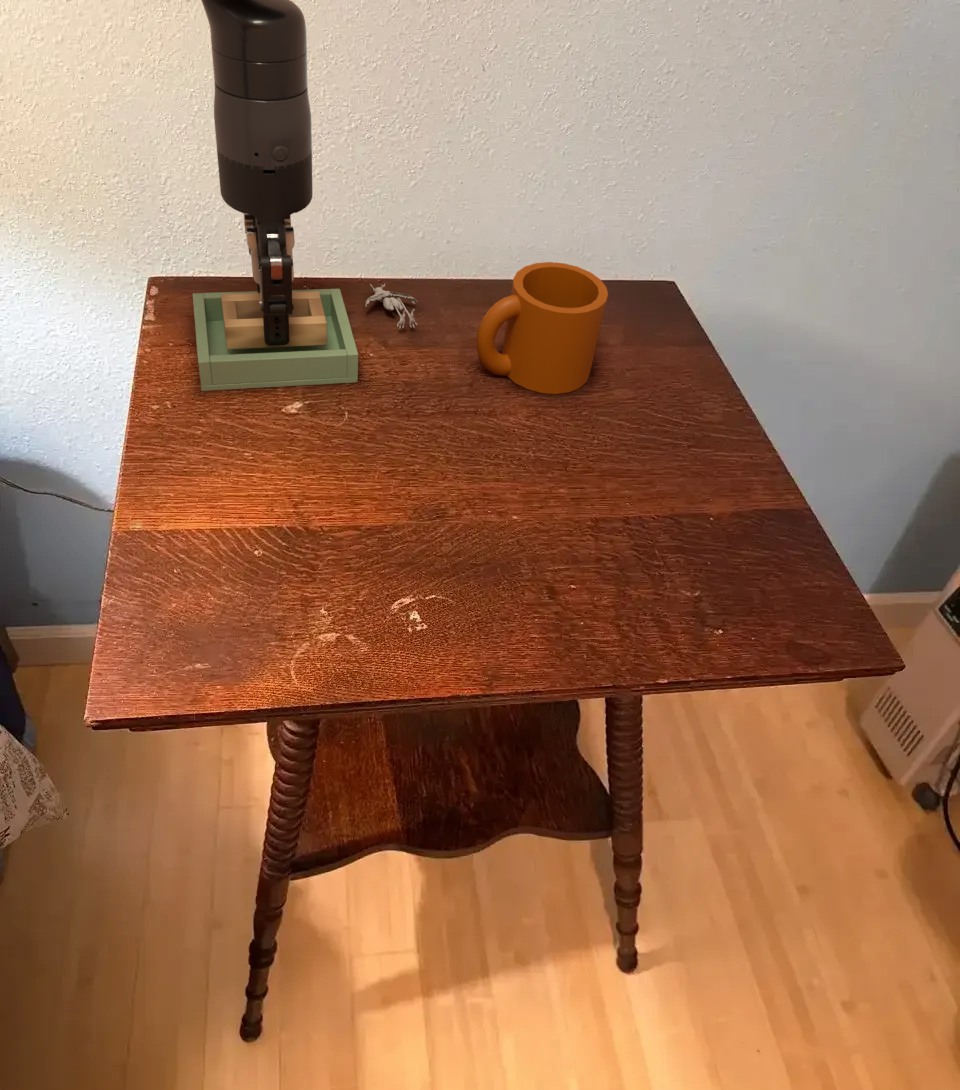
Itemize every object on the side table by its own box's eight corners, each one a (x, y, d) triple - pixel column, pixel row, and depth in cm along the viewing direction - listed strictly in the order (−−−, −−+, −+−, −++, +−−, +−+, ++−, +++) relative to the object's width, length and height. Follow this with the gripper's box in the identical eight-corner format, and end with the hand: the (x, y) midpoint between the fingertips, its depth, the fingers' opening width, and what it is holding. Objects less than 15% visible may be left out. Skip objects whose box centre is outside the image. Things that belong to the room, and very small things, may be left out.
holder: (201, 391, 84) (198, 362, 82) (195, 321, 92) (192, 293, 90) (357, 382, 88) (358, 354, 86) (339, 315, 96) (339, 288, 93)
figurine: (433, 327, 95) (401, 295, 100) (436, 307, 94) (403, 276, 99) (380, 331, 93) (349, 298, 98) (382, 311, 91) (351, 279, 96)
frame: (227, 349, 85) (224, 326, 84) (223, 316, 89) (220, 294, 87) (326, 345, 88) (326, 322, 86) (319, 313, 91) (318, 290, 90)
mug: (461, 343, 94) (470, 260, 88) (576, 342, 97) (593, 261, 91) (478, 397, 88) (489, 312, 82) (600, 394, 91) (620, 311, 84)
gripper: (211, 106, 80) (227, 286, 92) (221, 182, 70) (237, 372, 82) (300, 108, 82) (305, 283, 94) (323, 182, 72) (324, 367, 84)
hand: (273, 324), depth 88 cm, fingers closed on frame, 5 cm apart
